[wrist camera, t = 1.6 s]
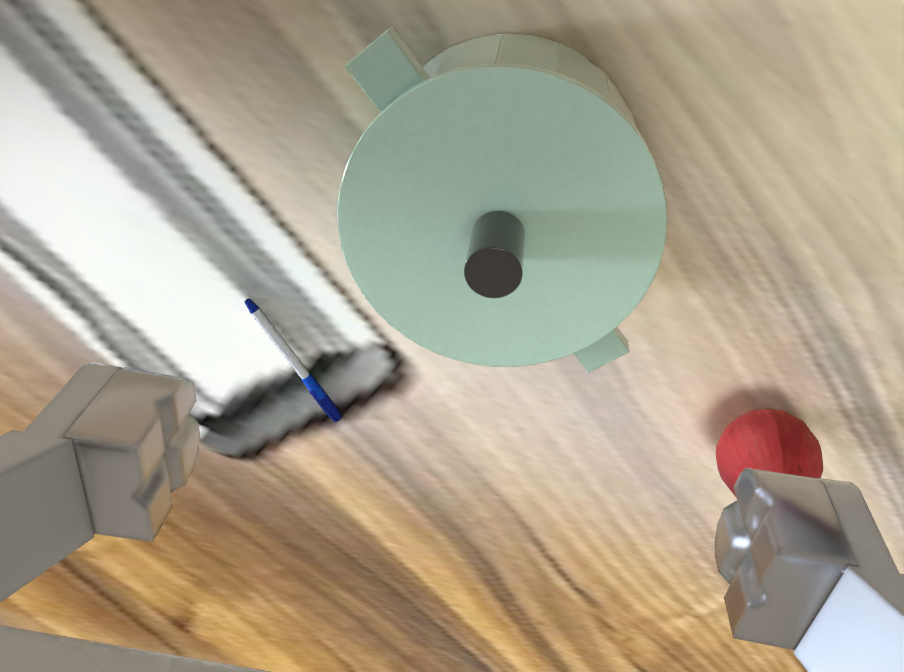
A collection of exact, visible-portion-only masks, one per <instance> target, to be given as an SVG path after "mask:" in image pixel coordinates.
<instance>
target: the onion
mask: <svg viewBox="0 0 904 672" xmlns="http://www.w3.org/2000/svg"><path fill="white" fill-rule="evenodd" d="M716 460H717V466H718V471H719V473H720V476H721V478H722V480H723V481H724V482H725V484H726V485H727V486H728V488H729V489H730V490H731V491H732V493H733V494H734V495H735V497H736V494H735V490H734V485H735V483H736V481H737V479H738V477H739V475H740V473H741V472H742V471H743V470H744V469H745V468H752V469H758V470H765V471H771V472H778V473H784V474H791V475H798V476H804V477H811V478H821V475H822V472H823V460H822V451H821V447H820V444H819V442H818V440H817V438H816V437H815V436H814V435H813V433H812V432H811V431H810V430H809V428H808V427H807V426H806V424H805V423H804V421H802V420H800V419H798V418H796V417H794V416H792V415H790V414H788V413H787V412H785V411H782V410H775V409H760V410H752V411H750V412H748V413H746V414H744V415H741V416H739V417H737V418H736V419H735V420H734V421H733V422H732V423H730V424H729V425H728V426H727V427H726V429H725V430H724V432H723V433H722V435H721V437H720V439H719V441H718V443H717V446H716Z"/></svg>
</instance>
